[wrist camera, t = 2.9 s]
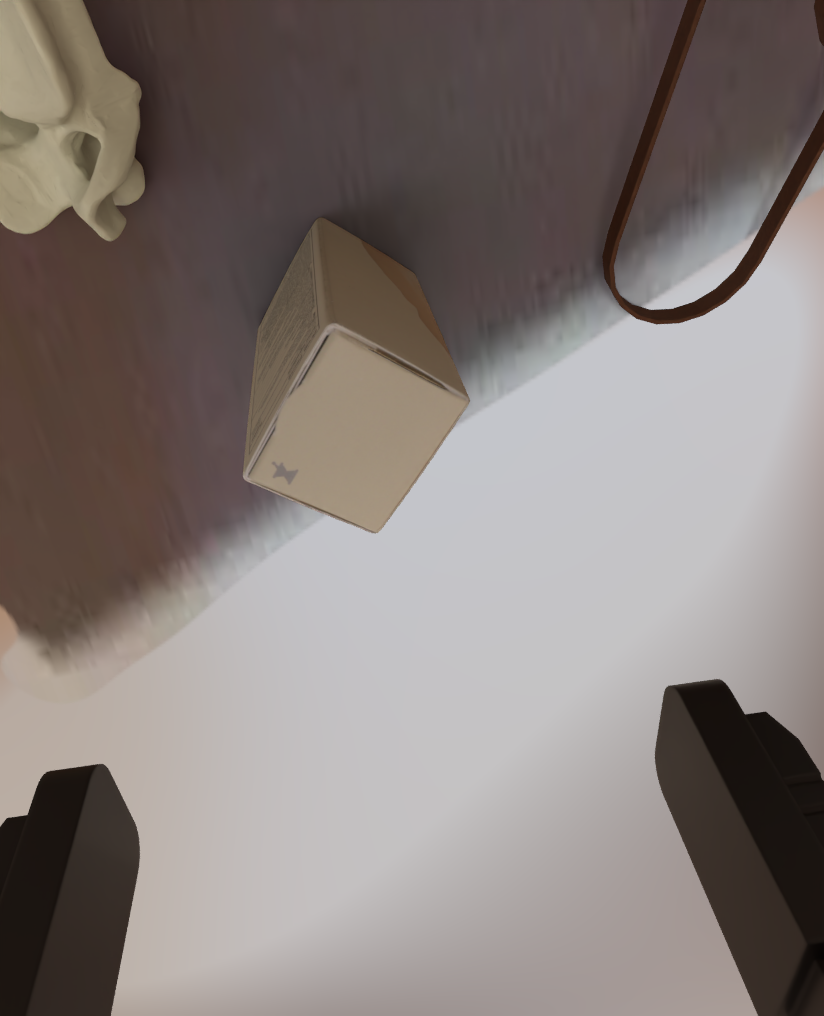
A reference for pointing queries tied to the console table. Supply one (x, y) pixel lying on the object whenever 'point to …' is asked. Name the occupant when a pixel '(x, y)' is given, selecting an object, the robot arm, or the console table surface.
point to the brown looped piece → (817, 142)
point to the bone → (63, 121)
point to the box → (348, 383)
